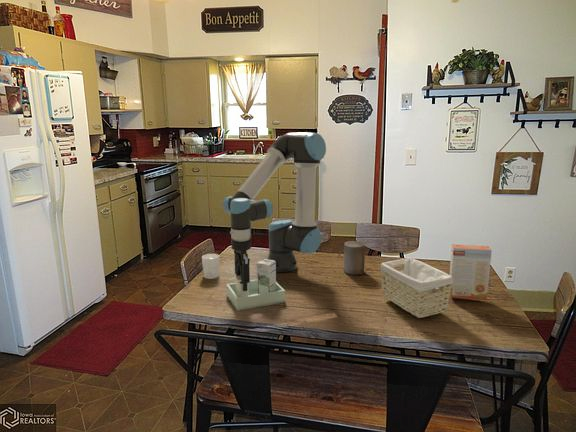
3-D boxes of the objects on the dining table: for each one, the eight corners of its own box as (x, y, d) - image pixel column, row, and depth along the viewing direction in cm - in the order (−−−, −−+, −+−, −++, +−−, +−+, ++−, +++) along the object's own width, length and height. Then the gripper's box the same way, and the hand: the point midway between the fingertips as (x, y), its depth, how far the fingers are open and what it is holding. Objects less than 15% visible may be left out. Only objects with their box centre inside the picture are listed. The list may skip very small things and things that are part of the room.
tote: (271, 288, 176) (271, 277, 175) (285, 302, 162) (285, 290, 161) (226, 295, 169) (226, 284, 168) (237, 311, 155) (236, 298, 154)
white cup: (216, 280, 186) (215, 259, 183) (200, 279, 187) (198, 258, 185) (222, 274, 193) (221, 254, 191) (206, 273, 195) (205, 253, 192)
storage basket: (452, 313, 152) (455, 275, 149) (417, 321, 146) (420, 282, 143) (409, 290, 174) (411, 256, 170) (377, 296, 167) (379, 262, 164)
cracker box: (484, 294, 168) (489, 245, 164) (487, 300, 163) (492, 250, 158) (447, 291, 172) (451, 243, 167) (449, 297, 166) (453, 247, 161)
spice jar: (247, 295, 167) (246, 273, 165) (250, 300, 162) (250, 277, 160) (235, 297, 165) (234, 275, 163) (238, 302, 160) (237, 279, 158)
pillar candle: (367, 270, 197) (368, 240, 194) (359, 276, 189) (360, 245, 186) (348, 266, 202) (349, 237, 199) (340, 272, 194) (340, 242, 191)
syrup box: (276, 293, 169) (276, 260, 165) (269, 299, 163) (269, 264, 160) (264, 291, 171) (263, 258, 168) (257, 296, 166) (256, 262, 163)
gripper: (225, 234, 165) (227, 288, 170) (238, 245, 149) (239, 305, 154) (243, 232, 168) (245, 286, 173) (257, 243, 151) (258, 302, 156)
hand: (242, 295), depth 163 cm, fingers closed on spice jar, 5 cm apart
